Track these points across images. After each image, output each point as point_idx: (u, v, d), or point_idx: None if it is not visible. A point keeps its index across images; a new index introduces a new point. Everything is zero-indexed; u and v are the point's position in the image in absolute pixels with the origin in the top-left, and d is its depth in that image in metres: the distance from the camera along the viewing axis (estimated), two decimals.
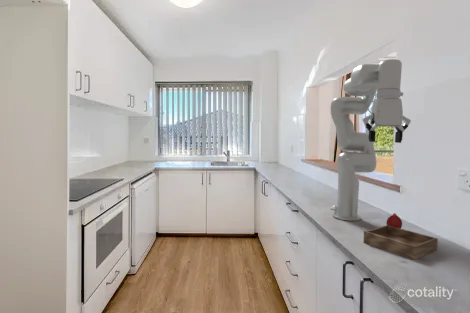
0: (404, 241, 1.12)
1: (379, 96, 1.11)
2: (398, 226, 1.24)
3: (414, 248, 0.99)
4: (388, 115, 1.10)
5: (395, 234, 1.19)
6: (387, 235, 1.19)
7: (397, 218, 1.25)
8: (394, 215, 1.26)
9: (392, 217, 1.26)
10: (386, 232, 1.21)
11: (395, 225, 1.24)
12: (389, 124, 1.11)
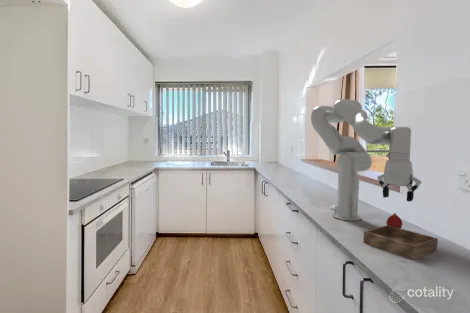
0: (404, 241, 1.12)
1: (409, 159, 1.23)
2: (398, 226, 1.24)
3: (414, 248, 0.99)
4: None
5: (395, 234, 1.19)
6: (387, 235, 1.19)
7: (397, 218, 1.25)
8: (394, 215, 1.26)
9: (392, 217, 1.26)
10: (386, 232, 1.21)
11: (395, 225, 1.24)
12: None
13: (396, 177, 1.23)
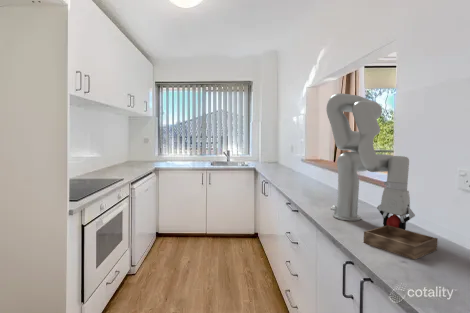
0: (404, 241, 1.12)
1: (406, 189, 1.24)
2: (398, 226, 1.24)
3: (414, 248, 0.99)
4: None
5: (395, 234, 1.19)
6: (387, 235, 1.19)
7: (397, 218, 1.25)
8: (394, 215, 1.26)
9: (392, 217, 1.26)
10: (386, 232, 1.21)
11: (395, 225, 1.24)
12: None
13: (393, 206, 1.25)
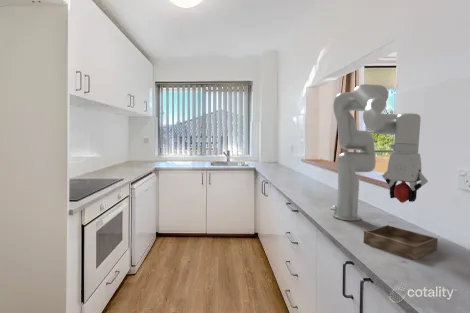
0: (404, 241, 1.12)
1: (417, 151, 1.06)
2: (407, 195, 1.07)
3: (414, 248, 0.99)
4: None
5: (395, 234, 1.19)
6: (387, 235, 1.19)
7: (406, 186, 1.08)
8: (403, 183, 1.09)
9: (400, 185, 1.08)
10: (386, 232, 1.21)
11: (404, 194, 1.07)
12: None
13: (402, 172, 1.07)
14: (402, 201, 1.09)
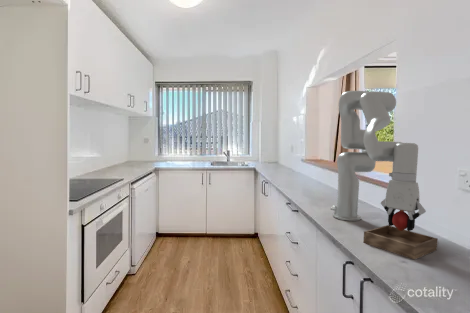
0: (404, 241, 1.12)
1: (415, 180, 1.07)
2: (406, 224, 1.07)
3: (414, 248, 0.99)
4: None
5: (395, 234, 1.19)
6: (387, 235, 1.19)
7: (404, 214, 1.08)
8: (401, 211, 1.09)
9: (399, 213, 1.09)
10: (386, 232, 1.21)
11: (402, 222, 1.07)
12: None
13: (400, 201, 1.07)
14: (400, 229, 1.09)
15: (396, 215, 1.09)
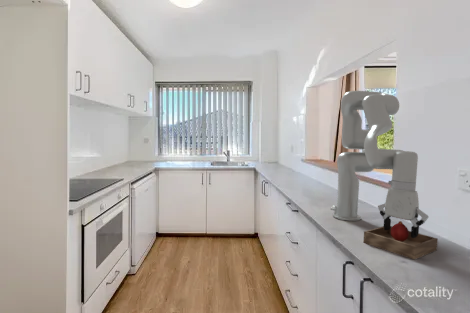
0: (404, 241, 1.12)
1: None
2: (404, 237, 1.08)
3: (414, 248, 0.99)
4: None
5: None
6: (387, 235, 1.19)
7: (403, 227, 1.09)
8: (400, 223, 1.10)
9: (397, 226, 1.10)
10: (386, 232, 1.21)
11: (401, 235, 1.08)
12: None
13: (399, 209, 1.08)
14: None
15: (395, 227, 1.10)
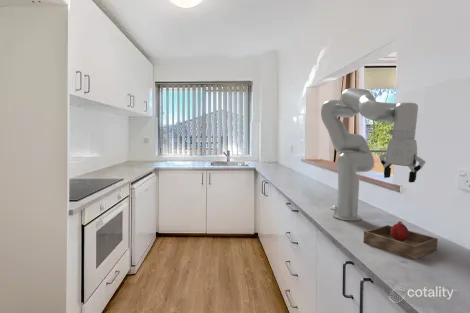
0: (404, 241, 1.12)
1: (414, 138, 1.15)
2: (404, 236, 1.08)
3: (414, 248, 0.99)
4: None
5: None
6: (387, 235, 1.19)
7: (403, 227, 1.09)
8: (399, 223, 1.10)
9: (397, 225, 1.10)
10: (386, 232, 1.21)
11: (400, 235, 1.08)
12: None
13: (399, 156, 1.16)
14: None
15: (394, 227, 1.10)
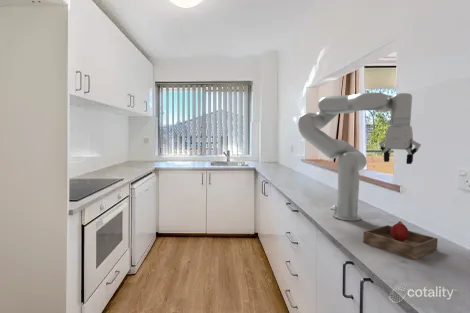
0: (404, 241, 1.12)
1: (409, 124, 1.29)
2: (404, 236, 1.08)
3: (414, 248, 0.99)
4: None
5: None
6: (387, 235, 1.19)
7: (403, 227, 1.09)
8: (399, 223, 1.10)
9: (397, 225, 1.10)
10: (386, 232, 1.21)
11: (400, 235, 1.08)
12: None
13: (397, 141, 1.30)
14: None
15: (394, 227, 1.10)
